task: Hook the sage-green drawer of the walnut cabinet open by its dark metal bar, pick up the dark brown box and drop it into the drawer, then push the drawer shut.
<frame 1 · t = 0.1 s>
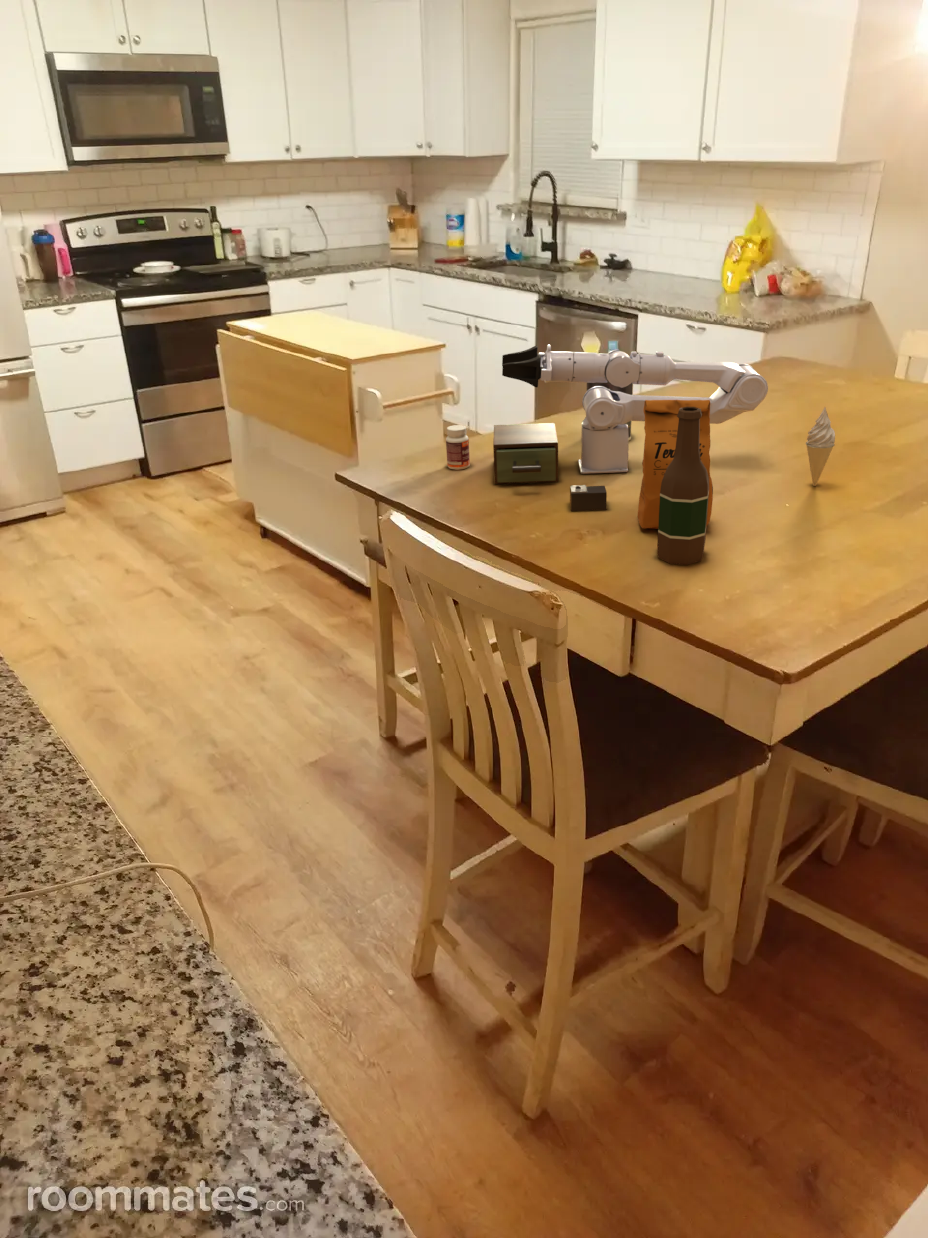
hand: (502, 365, 179), 22 cm above the table, tool horizontal, fingers open, 7 cm apart
coffee can: (608, 438, 205), on the table
coffee package: (673, 526, 159), on the table
drawer: (525, 459, 182), point 4 cm above the table, slide at 0.5 cm
pill bottle: (458, 467, 193), on the table
ice cream cone: (814, 486, 172), on the table
beer bottle: (680, 556, 148), on the table
dark brown box: (587, 507, 169), on the table
cabinet: (525, 471, 188), on the table
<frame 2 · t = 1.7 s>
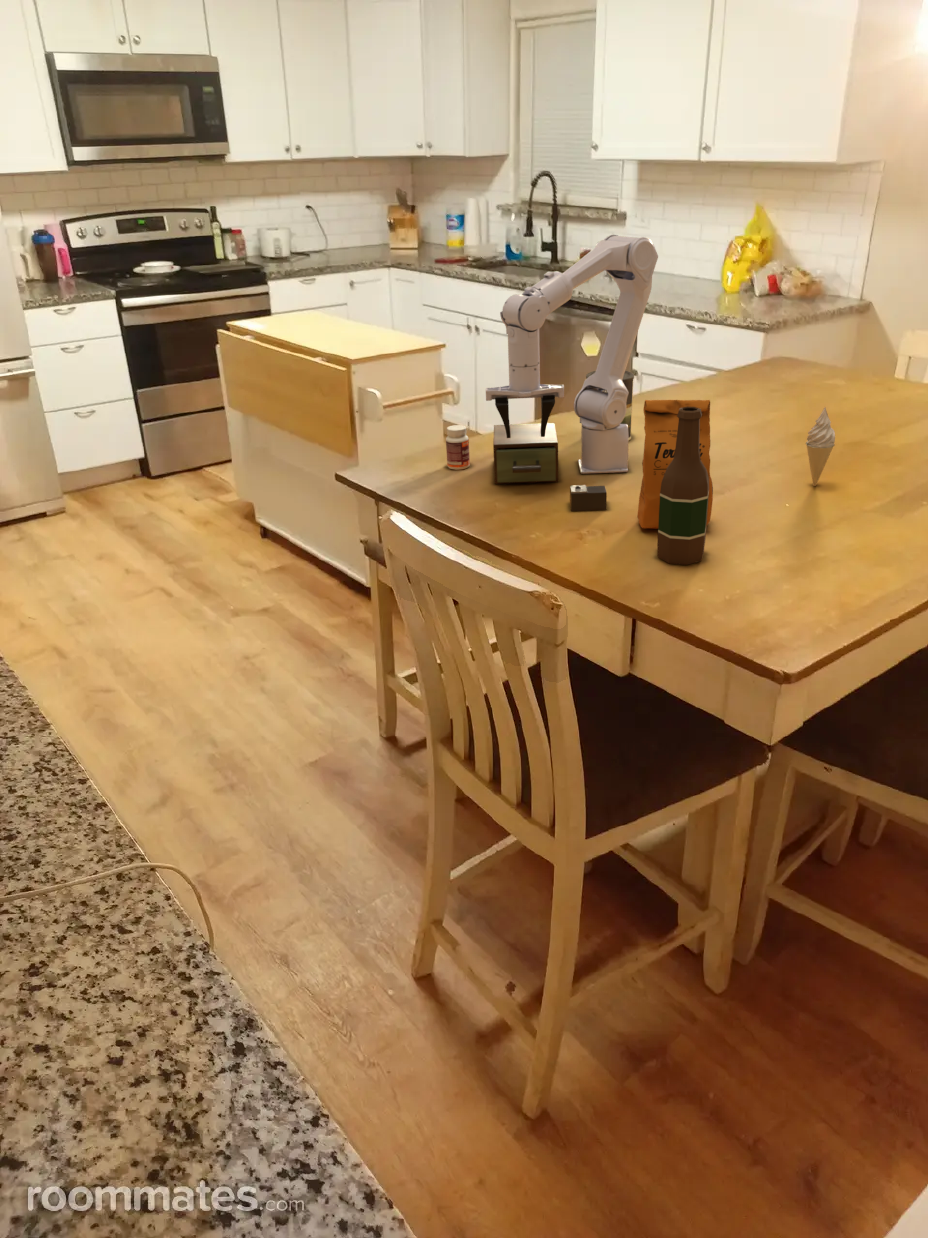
hand: (525, 435, 175), 10 cm above the table, tool pointing down, fingers open, 6 cm apart
nothing on the table moved.
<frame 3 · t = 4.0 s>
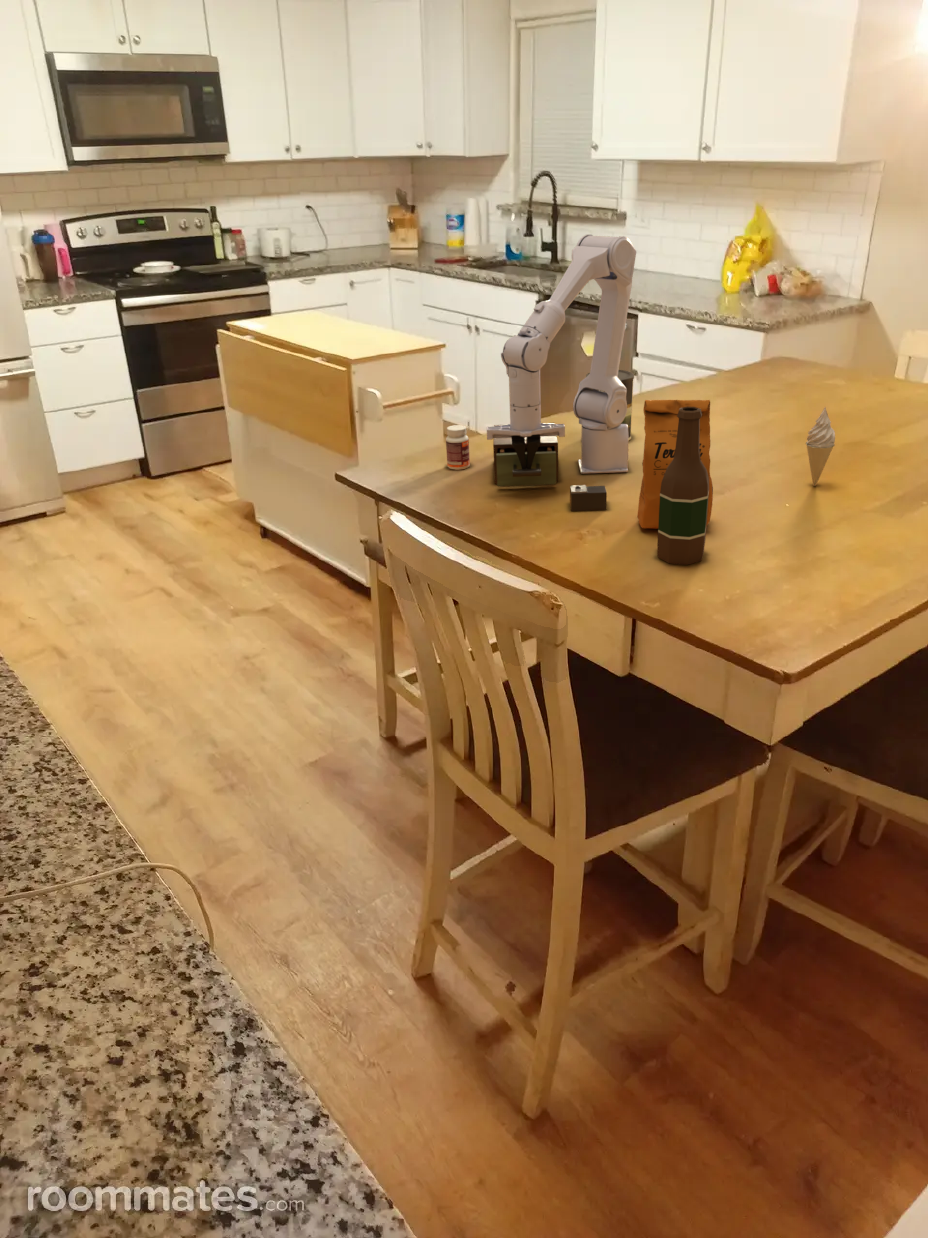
hand: (526, 473, 175), 4 cm above the table, tool pointing down, fingers closed, pressing on drawer
drawer: (526, 463, 180), point 4 cm above the table, slide at 2.7 cm, touching gripper
everything else where it was.
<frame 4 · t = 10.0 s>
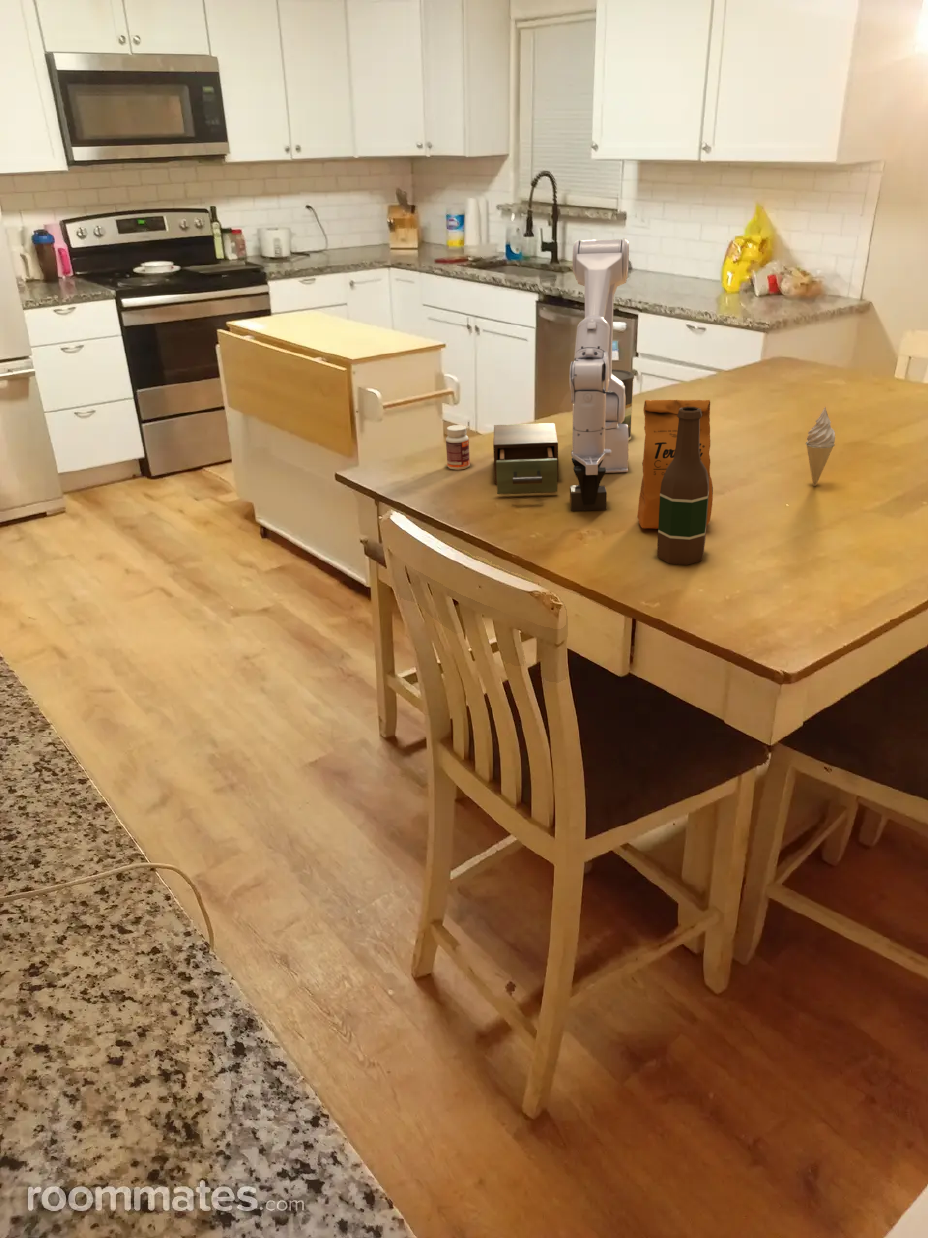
hand: (588, 499, 168), 1 cm above the table, tool pointing down, fingers closed on dark brown box, 3 cm apart
drawer: (526, 470, 176), point 4 cm above the table, slide at 6.9 cm
dark brown box: (587, 506, 169), on the table, touching gripper
everything else where it was.
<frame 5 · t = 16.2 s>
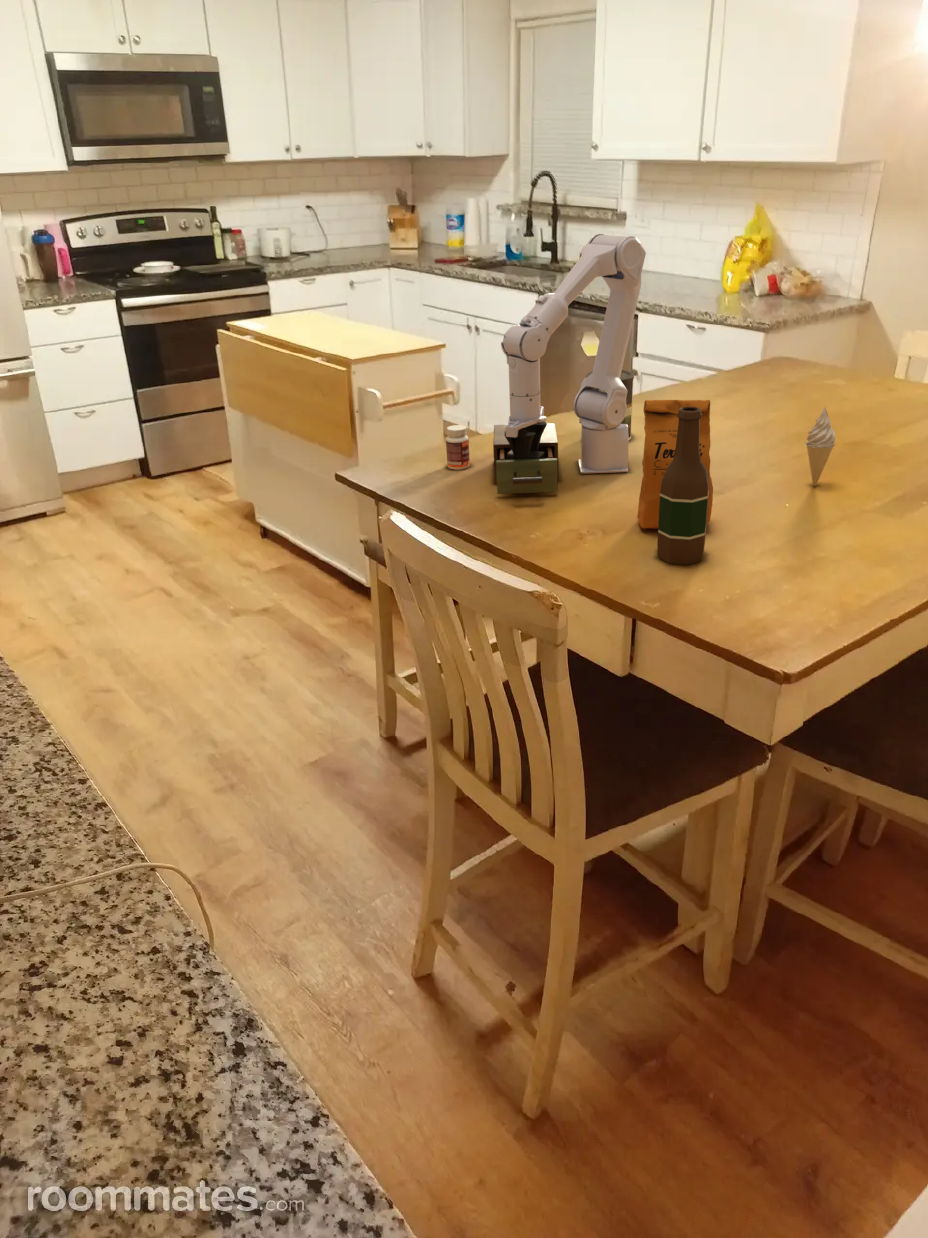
hand: (526, 463, 176), 5 cm above the table, tool pointing down, fingers closed on dark brown box, 3 cm apart
dark brown box: (526, 470, 177), point 4 cm above the table, touching gripper
everything else where it was.
when the fingers open (8 cm above the table, at t = 26.0 s): dark brown box drops 5 cm, resting on drawer.
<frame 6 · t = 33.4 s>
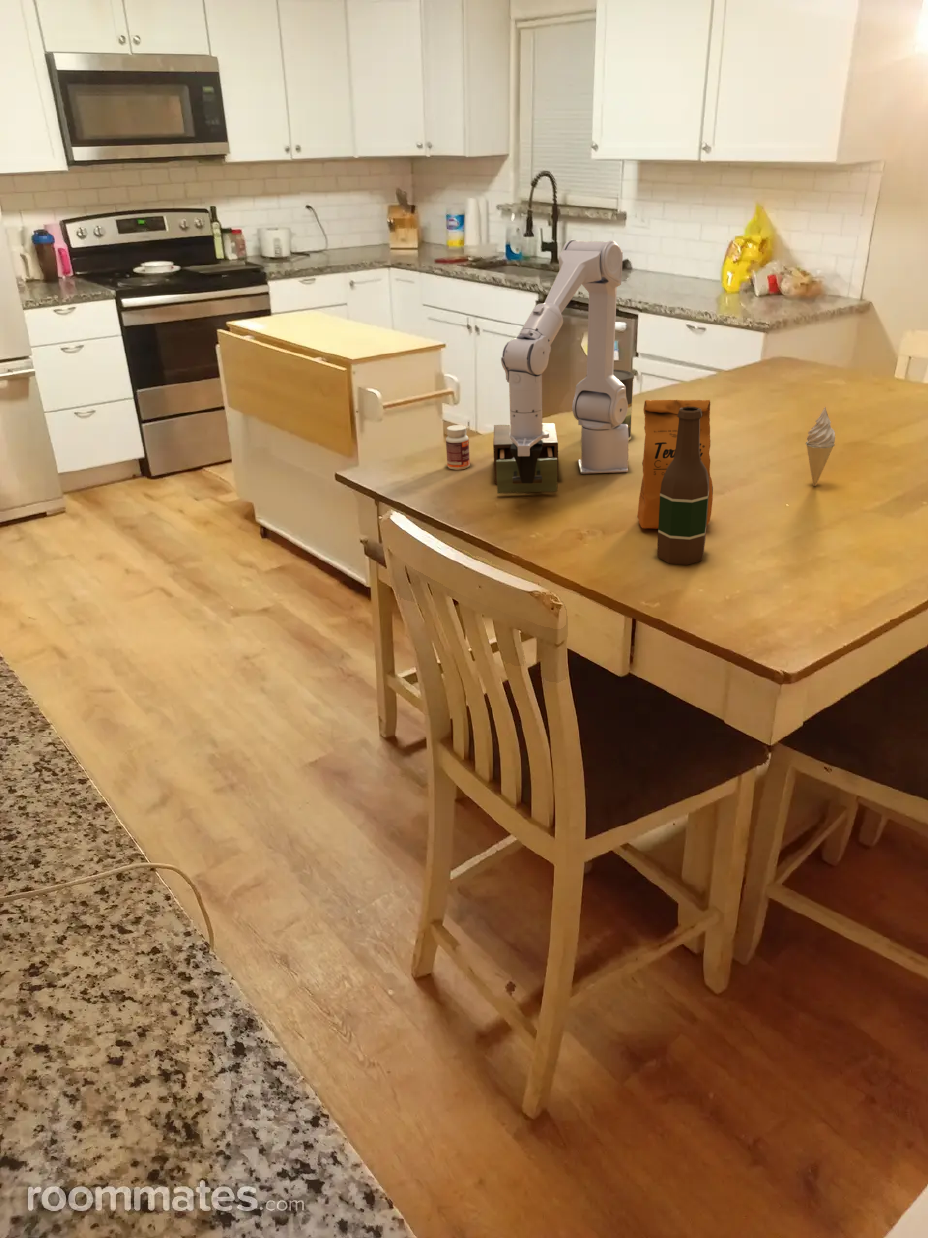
hand: (527, 482, 168), 5 cm above the table, tool pointing down, fingers closed
drawer: (526, 469, 177), point 4 cm above the table, slide at 6.6 cm, touching gripper, dark brown box
dark brown box: (526, 478, 178), point 2 cm above the table, touching drawer
everything else where it was.
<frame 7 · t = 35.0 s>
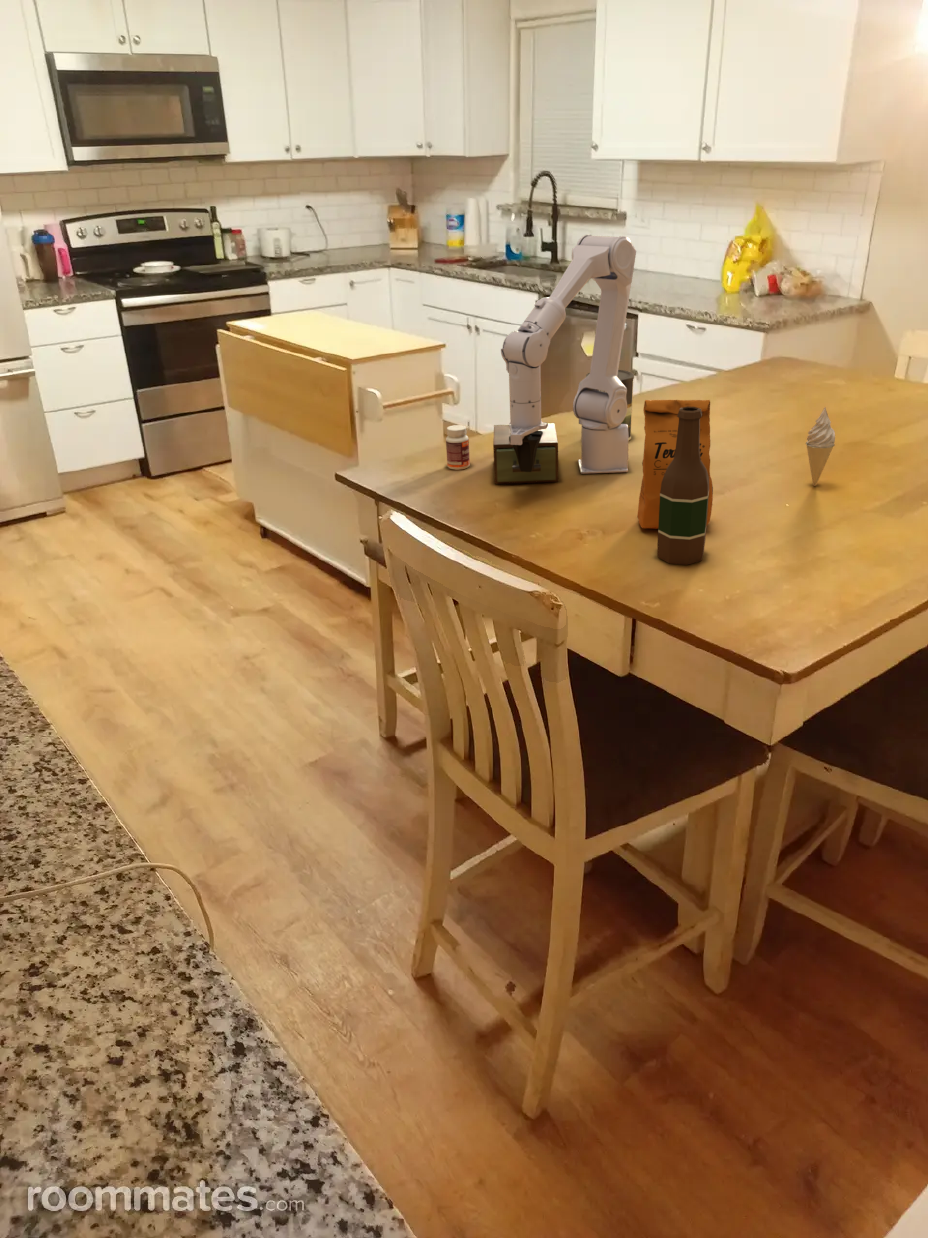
hand: (526, 470, 174), 5 cm above the table, tool pointing down, fingers closed, pressing on drawer
drawer: (525, 459, 182), point 4 cm above the table, slide at 0.1 cm, touching gripper, dark brown box
dark brown box: (525, 468, 184), point 2 cm above the table, touching drawer
everything else where it was.
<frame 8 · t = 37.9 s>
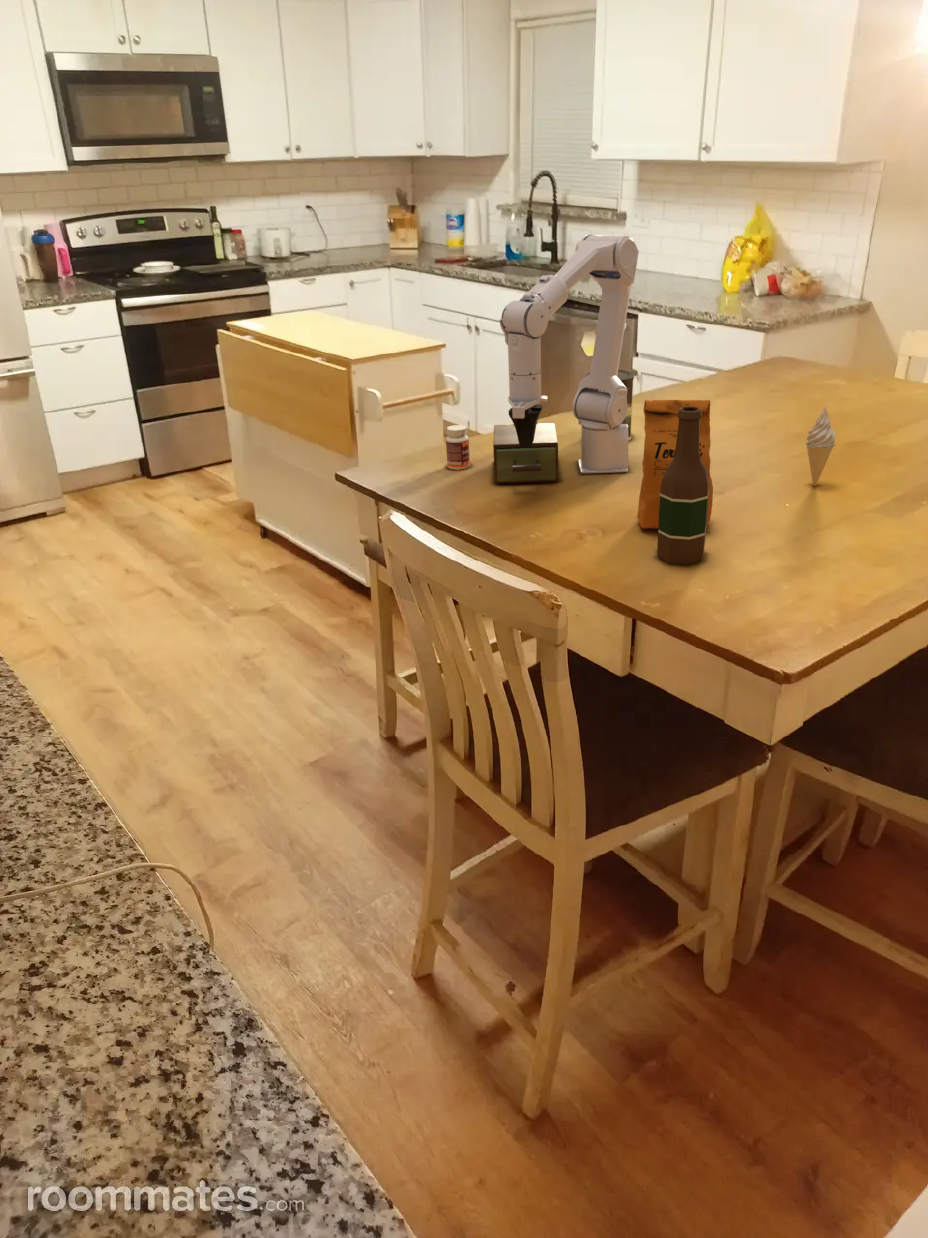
hand: (526, 446, 169), 10 cm above the table, tool pointing down, fingers closed
drawer: (525, 459, 182), point 4 cm above the table, slide at 0.0 cm, touching cabinet, dark brown box
everything else where it was.
at the end: drawer pulled out 6.9 cm at the most during the clip, back to where it started at the end; dark brown box inside the target area in the cabinet (3.5 cm from its centre), point 2.0 cm above the cabinet's base; drawer slide at 0.0 cm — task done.
